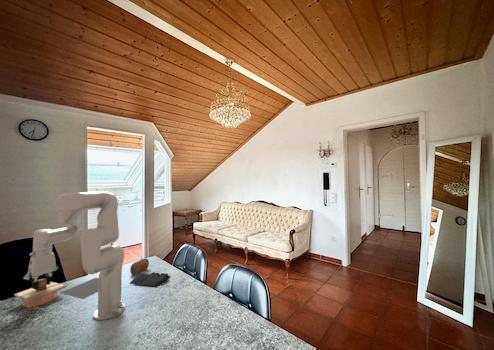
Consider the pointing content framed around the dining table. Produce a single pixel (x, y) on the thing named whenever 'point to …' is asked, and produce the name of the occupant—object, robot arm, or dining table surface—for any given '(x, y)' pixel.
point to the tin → (139, 266)
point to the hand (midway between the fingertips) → (41, 286)
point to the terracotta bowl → (39, 300)
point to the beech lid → (40, 290)
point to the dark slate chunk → (150, 279)
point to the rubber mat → (83, 289)
